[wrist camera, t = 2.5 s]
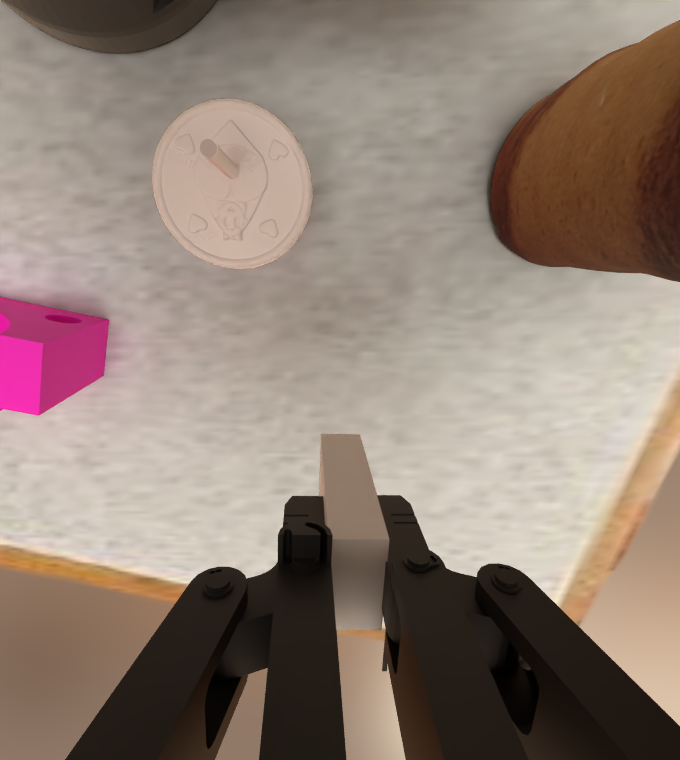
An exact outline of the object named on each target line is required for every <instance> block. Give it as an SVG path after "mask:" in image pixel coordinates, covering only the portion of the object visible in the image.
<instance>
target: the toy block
mask: <svg viewBox="0 0 680 760" xmlns="http://www.w3.org/2000/svg"><path fill="white" fill-rule="evenodd" d="M108 326H109V320H106V319H101V318H97V317H92V316H87V315H83V314H78V313H73V312H68V311H64V310H59V309H54V308H50V307H45V306H40V305H35V304H31V303H26V302H21V301H16V300H12V299H7V298H2V297H0V411H1V410H2V409H6V410H12V411H17V412H22V413H28V414H33V415H40V414H42V413H44V412H45V411H47V410H49V409H50V408H52V407H53V406H55V405H57V404H58V403H60V402H62V401H63V400H65V399H66V398H68V397H70V396H71V395H73V394H75V393H76V392H78V391H79V390H81V389H83V388H84V387H86V386H88V385H89V384H91V383H92V382H94V381H96V380H97V379H99V378H101V377H102V376H104V367H105V357H106V346H107V336H108Z"/></svg>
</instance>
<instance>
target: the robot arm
mask: <svg viewBox="0 0 680 760" xmlns="http://www.w3.org/2000/svg"><path fill="white" fill-rule="evenodd" d="M2 1H3V2H4V3H5V4H7V5H8V6H9V7H10V8H11V9H13V10H14V11H15V12H16V13H18V14H19V15H20V16H21V17H23V18H24V19H25V20H27V21H28V22H30V23H31V24H32V25H34V26H36V27H37V28H39V29H40V30H42V31H44V32H45V33H47V34H49V35H51V36H53V37H55V38H57V39H59V40H62V41H64V42H66V43H69V44H72V45H74V46H78V47H81V48H85V49H89V50H94V51H100V52H109V53H126V52H136V51H142V50H146V49H150V48H153V47H157V46H160V45H162V44H164V43H167V42H169V41H171V40H173V39H175V38H177V37H178V36H180V35H182V34H183V33H185V32H186V31H188V30H189V29H190V28H191V27H193V26H194V25H195V24H196V23H197V22H198V21H199V20H201V19H202V18H203V17H204V16H205V14H206V13H207V12H208V11H209V10H210V9H211V8H212V6H213V5H214V4H215V2H216V1H217V0H2ZM383 617H384V622H385V627H386V632H385V643H384V655H383V667H382V671H387V663H388V668H389V673H390V678H391V684H392V689H393V694H394V699H395V705H396V710H397V716H398V721H399V726H400V731H401V737H402V742H403V747H404V753H405V758H406V760H680V726H679V725H678V724H677V723H676V722H675V721H674V720H673V719H672V718H671V717H670V716H669V715H668V714H667V713H666V712H665V711H664V710H663V709H662V708H661V707H660V706H659V705H658V704H657V703H656V702H655V701H654V700H653V699H651V697H650V696H648V695H647V693H645V692H644V691H643V690H642V689H641V688H640V687H639V686H638V685H637V684H636V683H635V682H634V681H633V680H632V679H631V678H630V677H629V676H628V675H627V674H626V673H625V672H624V671H623V670H622V669H621V668H620V667H619V666H618V665H617V664H616V663H615V662H614V661H613V660H612V659H611V658H610V657H609V656H608V655H607V654H606V653H605V652H603V650H602V649H601V648H600V647H599V646H598V645H597V644H596V643H595V642H594V641H593V640H592V639H591V638H590V637H589V636H588V635H587V634H586V633H584V631H583V630H582V629H581V628H580V627H578V626H577V625H576V624H575V623H574V622H573V621H572V620H571V619H570V618H569V617H568V616H567V615H566V614H565V613H564V612H563V611H562V610H561V609H560V608H559V607H558V606H557V605H556V604H555V603H554V602H553V601H552V600H551V599H550V598H549V597H548V596H547V595H546V594H545V593H544V592H543V591H542V590H541V589H540V588H539V587H538V586H537V585H536V584H535V583H534V582H533V581H532V580H531V579H530V578H529V577H528V576H526V575H525V574H524V573H522V572H521V571H520V570H517V569H515V568H513V567H511V566H507V565H503V564H488V565H485V566H483V567H481V568H480V570H479V571H478V573H477V577H473V576H469V575H464V574H460V573H457V572H453V571H451V570H449V569H447V568H446V567H445V565H444V563H443V561H442V560H441V558H440V557H439V556H438V555H436V554H435V553H433V552H432V551H430V550H429V549H428V546H427V544H426V541H425V539H424V536H423V534H422V531H421V529H420V527H419V524H418V522H417V519H416V517H415V516H414V512H413V509H412V507H411V504H410V503H409V502H407V501H406V500H405V499H404V498H403V497H402V496H400V495H377V493H376V490H375V486H374V483H373V479H372V476H371V472H370V469H369V465H368V462H367V458H366V454H365V451H364V447H363V444H362V440H361V437H360V435H353V434H321V451H320V477H319V496H292V497H291V498H290V499H289V501H288V502H287V503H286V504H285V510H284V521H283V527H282V528H281V530H280V532H279V534H278V562H277V564H276V565H275V566H274V567H273V568H272V569H271V570H269V571H267V572H266V573H264V574H261V575H258V576H255V577H251V578H247V579H246V577H245V575H244V574H243V573H242V572H241V571H239V570H237V569H234V568H231V567H216V568H211V569H208V570H206V571H204V572H202V573H200V574H198V575H197V576H196V577H195V578H194V579H193V580H192V581H191V582H190V584H189V585H188V587H187V588H186V589H185V591H184V592H183V594H182V595H181V596H180V598H179V599H178V601H177V602H176V604H175V605H174V606H173V608H172V609H171V611H170V612H169V613H168V615H167V616H166V618H165V619H164V621H163V622H162V623H161V625H160V626H159V628H158V629H157V630H156V632H155V633H154V635H153V636H152V637H151V639H150V640H149V642H148V643H147V645H146V646H145V647H144V649H143V650H142V652H141V653H140V654H139V656H138V658H137V659H136V660H135V662H134V663H133V664H132V666H131V667H130V669H129V670H128V671H127V673H126V674H125V676H124V677H123V679H122V680H121V681H120V683H119V684H118V686H117V687H116V688H115V690H114V691H113V693H112V694H111V696H110V697H109V698H108V700H107V701H106V703H105V704H104V706H103V707H102V708H101V710H100V711H99V713H98V714H97V715H96V717H95V718H94V720H93V721H92V723H91V724H90V725H89V727H88V728H87V730H86V731H85V733H84V734H83V735H82V737H81V738H80V740H79V741H78V742H77V744H76V745H75V747H74V748H73V750H72V751H71V752H70V754H69V755H68V756H67V758H66V759H65V760H215V758H216V755H217V753H218V750H219V748H220V746H221V743H222V740H223V738H224V736H225V733H226V731H227V728H228V726H229V724H230V721H231V718H232V716H233V714H234V711H235V709H236V706H237V704H238V701H239V699H240V697H241V694H242V692H243V689H244V686H245V684H246V682H247V677H248V674H250V673H253V672H256V671H259V670H262V669H265V668H268V672H267V682H266V693H265V704H264V715H263V724H262V735H261V745H260V755H259V760H346V751H345V738H344V724H343V711H342V698H341V685H340V672H339V660H338V647H337V632H336V630H381V629H382V618H383Z"/></svg>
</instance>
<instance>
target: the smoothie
mask: <svg viewBox="0 0 680 760" xmlns="http://www.w3.org/2000/svg"><path fill="white" fill-rule="evenodd" d="M152 185H153V193H154V198H155V202H156V205H157V208H158V211H159V213H160V216H161V218H162V220H163V222H164V223H165V225H166V227H167V228H168V230H169V231H170V232H171V234H172V235H173V236H174V238H175V239H176V240H177V241H178V242H179V243H180V244H181V245H182V246H183V247H184V248H185V249H187V250H188V251H189V252H191V253H192V254H194V255H195V256H197V257H198V258H200V259H202V260H204V261H206V262H209V263H211V264H214V265H217V266H221V267H227V268H232V269H247V268H257V267H260V266H262V265H265V264H268V263H270V262H273V261H275V260H276V259H278V258H279V257H280V256H282V255H283V254H284V253H286V252H287V251H289V250H290V249H291V247H292V246H293V245H294V244H295V242H296V241H297V240H298V238H299V237H300V236H301V235H302V233H303V230H304V228H305V226H306V223H307V221H308V219H309V216H310V211H311V204H312V198H313V190H312V180H311V172H310V169H309V166H308V164H307V161H306V158H305V155H304V152H303V150H302V148H301V146H300V145H299V143H298V141H297V140H296V138H295V136H294V135H293V134H292V132H291V131H290V130H289V129H288V128H287V126H286V125H285V124H284V123H283V122H282V121H280V120H279V119H278V118H277V117H276V116H274V115H273V114H272V113H270V112H269V111H267V110H265V109H264V108H262V107H260V106H258V105H256V104H253V103H250V102H247V101H243V100H238V99H225V98H223V99H213V100H209V101H205V102H202V103H199V104H197V105H195V106H192V107H191V108H189V109H187V110H186V111H184V112H183V113H182V114H180V115H179V116H178V117H177V118H176V119H175V120H174V121H173V122H172V123H171V124H170V126H169V127H168V128H167V130H166V131H165V133H164V134H163V136H162V138H161V140H160V142H159V144H158V147H157V149H156V153H155V156H154V161H153V168H152Z"/></svg>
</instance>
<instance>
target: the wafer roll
mask: <svg viewBox="0 0 680 760" xmlns="http://www.w3.org/2000/svg"><path fill="white" fill-rule="evenodd" d="M491 207H492V214H493V219H494V223H495V225H496V226H497V228H498V230H499V239H500V240H501V241H502V242H503V244H504V245H505V246H507V247H508V248H509V249H510V250H511V251H513V252H514V253H516V254H517V255H519V256H521V257H522V258H524V259H525V260H527V261H529V262H531V263H535V264H538V265H542V266H548V267H574V268H581V269H588V270H596V271H606V272H617V273H644V274H649V275H653V276H656V277H660V278H664V279H668V280H672V281H678V282H680V20H679V21H677V22H675V23H672V24H670V25H668V26H666V27H664V28H662V29H660V30H659V31H657V32H655V33H653V34H652V35H650V36H649V37H647V38H645V39H644V40H642V41H641V42H639V43H636V44H633V45H629V46H627V47H624V48H622V49H619V50H616V51H613V52H611V53H609V54H607V55H606V56H604V57H602V58H600V59H599V60H597V61H595V62H594V63H592V64H591V65H590V66H588V67H587V68H586V69H584V70H583V71H582V72H580V73H579V74H578V75H577V76H575V77H574V78H573V79H571V80H570V81H568V82H567V83H565V84H564V85H563V86H561V87H560V88H559V89H557V90H556V91H555V92H554V93H553V94H551V95H549V96H548V97H546V98H544V99H543V100H541V101H540V102H538V103H537V104H536V105H534V106H533V107H532V108H531V109H530V110H529V111H528V112H527V113H526V114H525V115H524V116H523V117H522V118H521V120H520V121H519V122H518V123H517V125H516V126H515V127H514V129H513V130H512V131H511V133H510V135H509V137H508V138H507V140H506V141H505V143H504V144H503V147H502V149H501V151H500V153H499V156H498V159H497V162H496V165H495V169H494V173H493V178H492V185H491Z"/></svg>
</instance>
